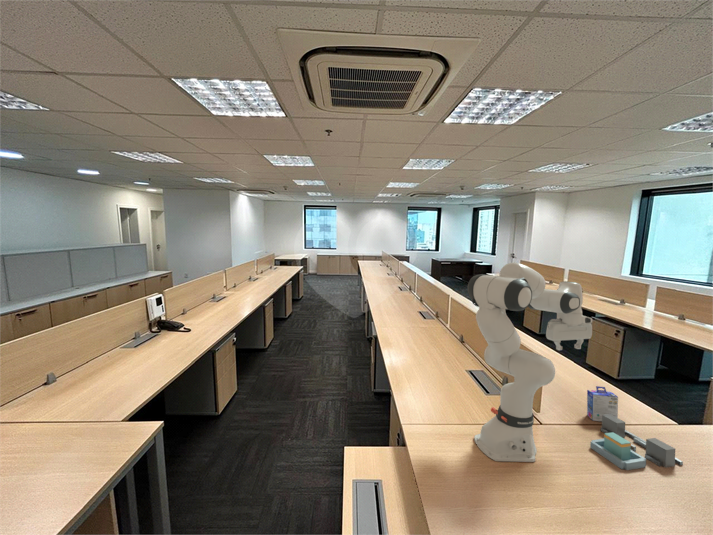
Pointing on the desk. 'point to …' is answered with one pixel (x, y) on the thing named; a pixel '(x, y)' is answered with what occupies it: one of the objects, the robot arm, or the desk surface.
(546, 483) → the desk surface
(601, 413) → the ink cartridge box
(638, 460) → the tray
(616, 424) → the block
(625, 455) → the block
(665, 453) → the block
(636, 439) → the clip rail
